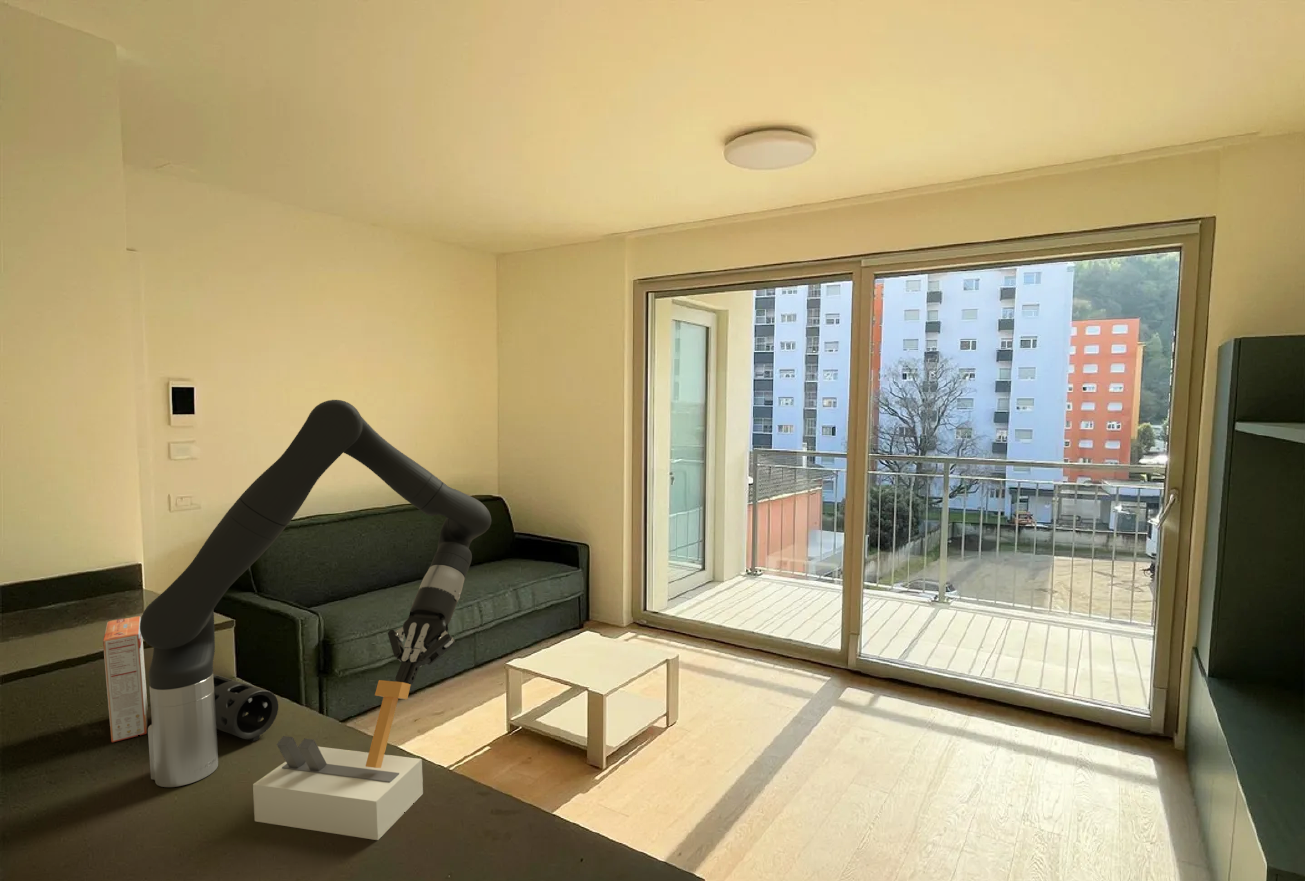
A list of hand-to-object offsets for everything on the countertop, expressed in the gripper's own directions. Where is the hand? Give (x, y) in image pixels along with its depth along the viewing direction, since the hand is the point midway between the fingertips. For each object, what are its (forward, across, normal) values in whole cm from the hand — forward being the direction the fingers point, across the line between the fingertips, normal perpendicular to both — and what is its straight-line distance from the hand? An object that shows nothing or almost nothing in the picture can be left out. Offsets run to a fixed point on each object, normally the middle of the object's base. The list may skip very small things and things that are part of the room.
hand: (402, 685), depth 114 cm
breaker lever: (+13, 0, +1) cm, 13 cm away
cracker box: (+8, -68, +17) cm, 70 cm away
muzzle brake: (+5, -50, +19) cm, 54 cm away
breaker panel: (+18, -6, +6) cm, 20 cm away
